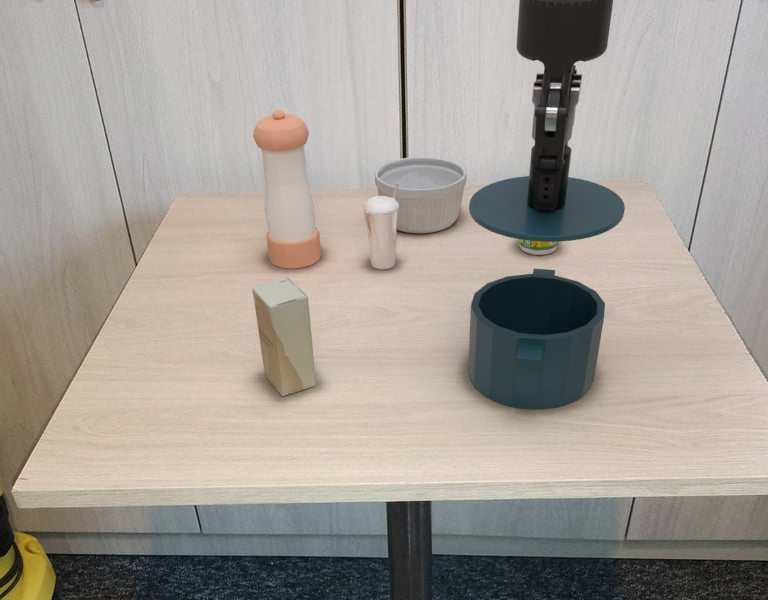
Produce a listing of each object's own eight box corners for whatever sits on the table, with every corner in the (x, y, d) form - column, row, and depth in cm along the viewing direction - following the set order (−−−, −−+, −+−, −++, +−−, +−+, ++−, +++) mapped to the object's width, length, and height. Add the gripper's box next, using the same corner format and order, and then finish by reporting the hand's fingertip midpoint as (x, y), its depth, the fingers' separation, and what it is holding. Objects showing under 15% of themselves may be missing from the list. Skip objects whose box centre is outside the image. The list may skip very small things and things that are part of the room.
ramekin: (460, 200, 126) (461, 153, 121) (469, 235, 116) (471, 187, 112) (375, 204, 126) (373, 158, 121) (377, 240, 116) (375, 191, 112)
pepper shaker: (262, 252, 115) (241, 107, 102) (310, 241, 117) (296, 98, 104) (279, 273, 110) (259, 124, 97) (328, 261, 112) (316, 113, 99)
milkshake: (411, 261, 111) (410, 188, 104) (383, 275, 108) (380, 201, 102) (387, 251, 113) (385, 179, 107) (360, 265, 111) (355, 191, 104)
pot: (596, 335, 95) (607, 267, 89) (589, 431, 82) (601, 358, 76) (481, 325, 98) (484, 259, 92) (456, 417, 84) (458, 346, 78)
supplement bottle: (561, 254, 111) (570, 183, 104) (523, 257, 111) (529, 186, 104) (552, 237, 115) (559, 168, 108) (514, 240, 115) (520, 171, 108)
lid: (624, 189, 82) (634, 125, 77) (622, 253, 71) (633, 183, 67) (479, 183, 84) (482, 120, 80) (457, 243, 74) (459, 175, 70)
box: (264, 375, 91) (249, 285, 84) (298, 364, 93) (287, 274, 85) (283, 398, 88) (269, 306, 80) (318, 386, 89) (308, 294, 82)
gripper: (613, 7, 59) (583, 234, 71) (616, -30, 70) (589, 174, 81) (510, 7, 61) (497, 229, 73) (528, -29, 71) (514, 171, 83)
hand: (546, 199), depth 77 cm, fingers closed on lid, 3 cm apart
